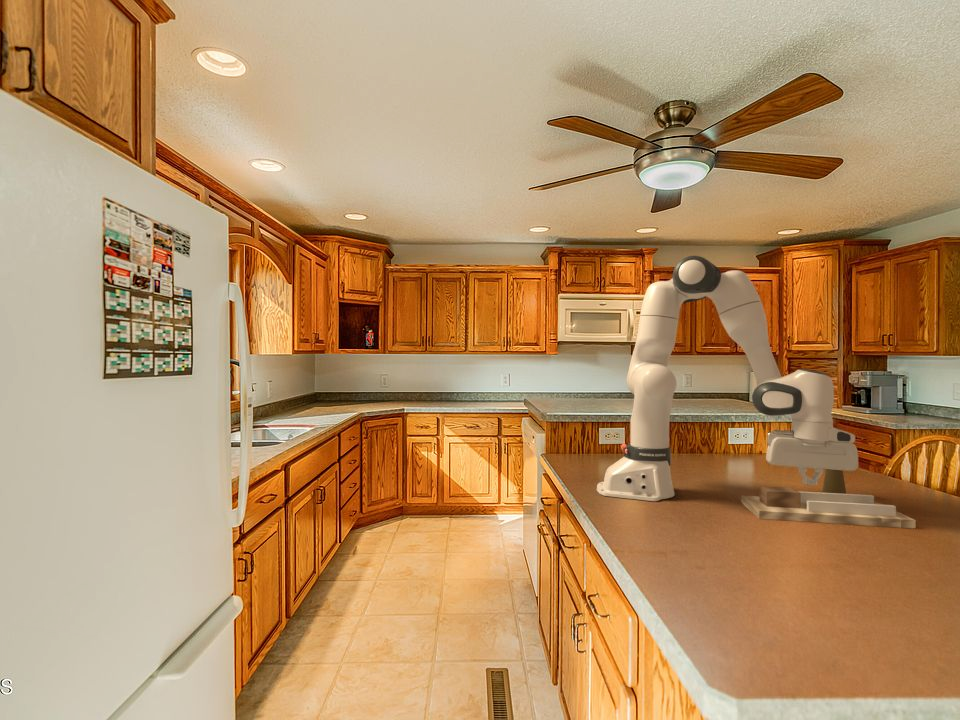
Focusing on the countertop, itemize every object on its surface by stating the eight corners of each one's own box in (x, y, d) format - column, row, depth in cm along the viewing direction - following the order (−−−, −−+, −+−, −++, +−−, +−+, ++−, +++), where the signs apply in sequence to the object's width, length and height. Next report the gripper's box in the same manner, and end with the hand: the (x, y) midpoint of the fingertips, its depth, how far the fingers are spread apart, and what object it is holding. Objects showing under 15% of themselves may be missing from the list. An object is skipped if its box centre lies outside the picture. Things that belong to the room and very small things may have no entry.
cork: (838, 493, 146) (838, 457, 146) (852, 499, 140) (852, 461, 140) (817, 493, 146) (817, 456, 146) (829, 498, 140) (829, 460, 140)
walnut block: (766, 506, 126) (766, 491, 126) (759, 500, 131) (759, 486, 131) (800, 508, 124) (800, 492, 124) (792, 502, 129) (792, 487, 129)
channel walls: (808, 511, 122) (808, 501, 122) (791, 500, 132) (791, 491, 132) (895, 516, 118) (895, 506, 118) (871, 504, 128) (871, 495, 128)
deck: (759, 518, 122) (759, 510, 122) (741, 502, 136) (741, 495, 136) (915, 528, 115) (915, 520, 115) (880, 510, 129) (880, 503, 129)
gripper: (771, 430, 125) (769, 484, 125) (862, 436, 121) (860, 491, 121) (763, 427, 131) (761, 478, 131) (849, 432, 127) (847, 485, 127)
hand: (809, 484), depth 126 cm, fingers closed
